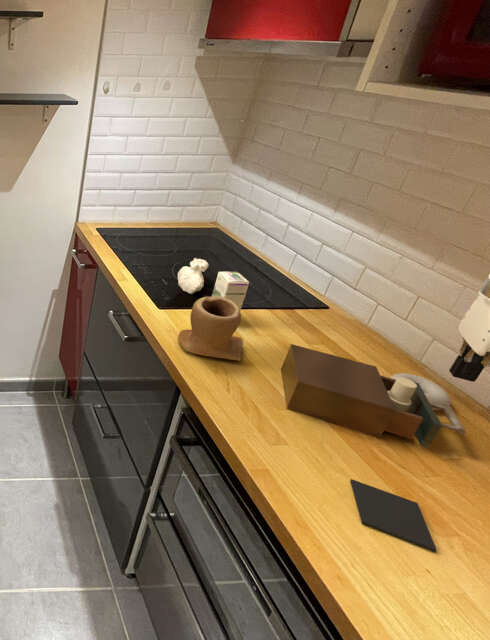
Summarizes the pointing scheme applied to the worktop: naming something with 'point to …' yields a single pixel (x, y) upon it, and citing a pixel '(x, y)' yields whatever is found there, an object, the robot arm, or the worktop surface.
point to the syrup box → (231, 287)
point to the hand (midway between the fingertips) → (461, 376)
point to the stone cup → (213, 329)
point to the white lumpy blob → (192, 276)
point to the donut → (428, 389)
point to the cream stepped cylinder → (402, 393)
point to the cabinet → (336, 390)
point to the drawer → (420, 417)
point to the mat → (392, 515)
